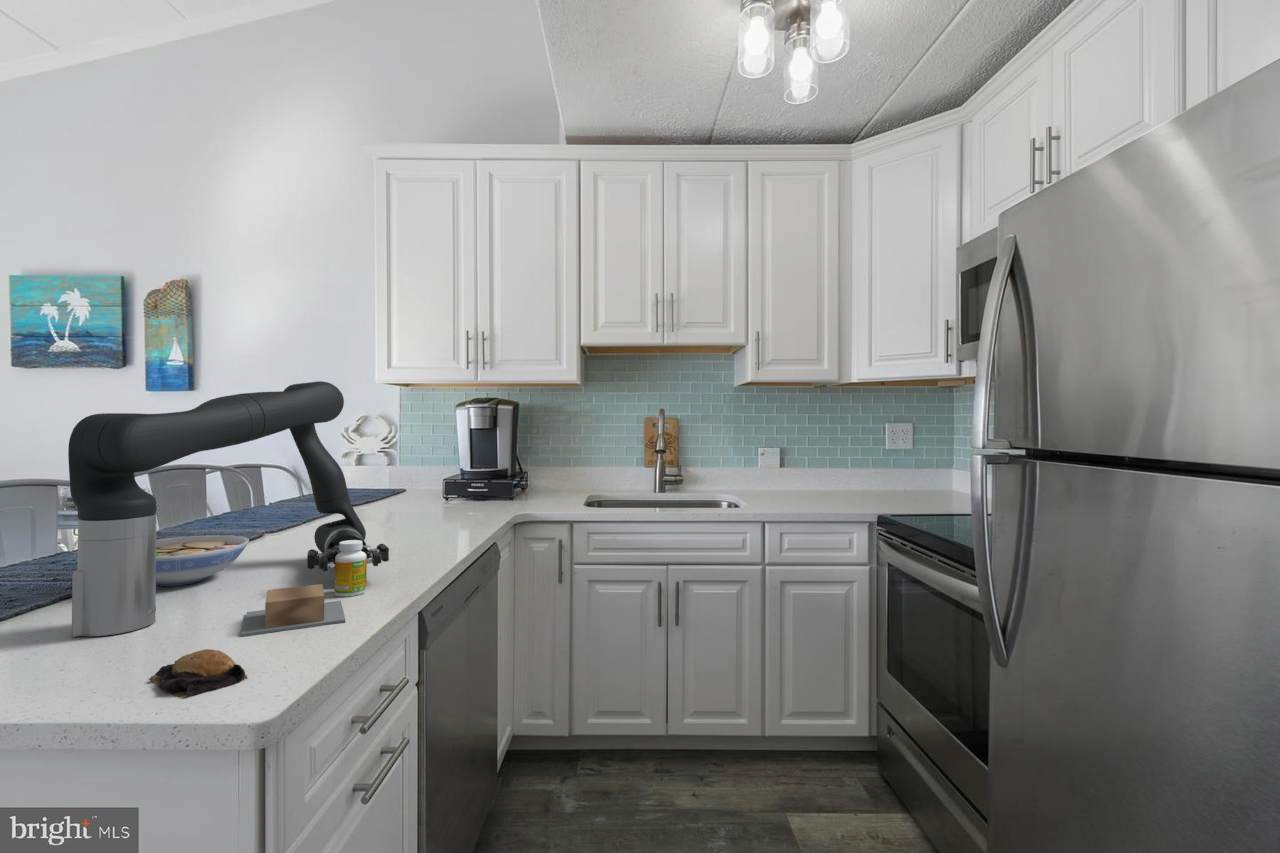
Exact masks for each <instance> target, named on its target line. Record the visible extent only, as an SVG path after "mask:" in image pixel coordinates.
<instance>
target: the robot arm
mask: <svg viewBox="0 0 1280 853" xmlns="http://www.w3.org/2000/svg"><path fill="white" fill-rule="evenodd" d="M341 391H342V390H340V389H339V388H338V387H337V386H336V385H334V384H332V383H330V382H328V381H322V380H321V381H313V382H312V381H310V382H302V383H301V382H299V383H294V384H290V385H288V386H287V387H285V388H284V389H283V391H282V390H281V391H261V392H259V391H258V392H246V393H245V392H244V393H236V394H231V395H224V396H219V397H216V398H212V399H208V400H207V401H205V402H203V403H201V404H199V405H198V406H196V407H194V408H191V409H189V410H183V411H176V412H175V411H174V412H165V413H134V412H133V413H127V412H124V413H121V412H120V413H118V412H117V413H116V412H114V413H110V412H108V413H95V414H91V415H87V416H86V417H84V418H82V419H81V420H80V421H79V422H77V423H76V424H75V426H74V427H73V429H72V431H71V434H70V437H69V441H68V452H67V453H68V454H67V456H68V473H69V475H68V476H69V477H68V478H69V490H70V491H69V492H70V496H71V499H72V502H73V504H74V506H75V507H76V510H77V569H76V570H75V571H73V572H72V575H71V576H72V577H71V578H72V579H71V580H72V581H71V582H72V583H71V586H72V588H71V590H72V591H71V637H72V638H76V637H103V636H110V635H113V636H114V635H118V634H124V633H129V632H134V631H137V630H140V629H143V628H146V627H148V626H150V625H152V624H154V623H155V622H156V615H157V614H156V610H157V606H156V600H157V599H156V594H157V593H156V592H157V589H156V587H157V584H156V540H157V499H156V498H155V495H153V494H151V493H149V492H147V491H145V490H144V489H143V488H142V487H141V486H139V484H138V483H137V481H136V478H135V473H143V472H146V471H147V472H148V471H150V470H153V469H157V468H159V467H162V466H164V465H167V464H170V463H172V462H174V461H177V460H181V459H183V458H185V457H188V456H191V455H194V454H196V453H200V452H205V451H212V450H217V449H222V448H227V447H234V446H236V445H240V444H244V443H249V442H251V441H256V440H259V439H261V438H265V437H268V436H270V435H274V434H277V433H281V432H283V431H286V430H288V429H289V431H290V433H291V436H292V438H293V441H294V443H295V446H296V447H297V450H298V452H299V455H300V457H301V459H302V461H303V463H304V466H305V469H306V471H307V472H306V473H307V474H308V478H309V481H310V482H309V483H310V487H311V490H312V495H313V499H314V503H315V508H316V510H317V511H318V513H319V514H324V515H329V514H330V515H331V514H334V515H335V514H336V515H337V514H338V515H342V516H343V517H344V518H342V519H339V520H334V521H331V522H330V521H328V522H326V523H323V524H320V526H318V527H317V528H316V529H315V532H314V534H313V535H314V536H313V537H314V539H313V540H314V543H315V546H316V548H317V550H316V549H309V550H308V552H307V556H306V558H307V559H306V560H307V566H306V567H307V569H310V570H312V569H315V567H317V568H318V569H319V570H322V571H323V572H327V571H328V568H335V557H336V555H337V554H339V553H340V552H341V551H340V550H339V543H340V542H342V541H347V540H361V541H362V542H363V547H362V549H361V551H362V552H364V553H365V554H366V557H367V565H368V564H372V566H373V567H379V564H382V562H389V561H390V558H389V556H390V555H389V554H390V553H389V552H390V548H389V547H388V545H386V544H385V543H379V544H377V545H376V548H373V546H372V545H367V543H366V542H365V539H366V535H367V534H366V531H367V530H366V529H365V526H364V524H363V522H362V521H361V519H360V518H359V516H358V514H357V513H356V510H355V509H354V506H353V504H352V502H351V499H350V496H349V492H348V487H347V486H348V485H347V482H346V478H345V474H344V472H343V469H342V468H341V466H340V465H339V463H338V462H337V461H336V460H335V458H334V457H333V456H332V455H331V453H330V452H329V451H328V450H327V448H325V446H324V444H323V443H322V441H321V440H320V437H319V436H318V433H317V430H316V426H315V424H322V423H328V422H331V421H333V420H334V419H336V418H337V417H339V416H340V415H341V413H342V411H343V408H344V404H345V399H344V396H343V393H342V392H341Z"/></svg>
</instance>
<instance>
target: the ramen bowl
mask: <svg viewBox="0 0 1280 853" xmlns="http://www.w3.org/2000/svg"><path fill="white" fill-rule="evenodd" d="M249 541H250V539H249V538H246V536H239V535H238V536H237V535H232V534H231V535H230V534H229V535H226V534H221V535H219V534H218V535H217V534H215V535H214V534H212V535H211V534H207V535H206V534H205V535H192V536H191V535H190V536H189V535H188V536H178V537H177V536H176V537H168V538H159V539H157V538H156V586H157V585H158V586H161V587H175V586H183V585H184V586H185V585H190V584H195V583H196V584H197V583H199V582H201V581H203V580H205V579H206V578H207V577H210V576H213V575H215V574H217V573H219V572H222V571H223V570H224V569H226V568H228V567H229V566H231V565H232V563H234V562H235V561H236V560H237V558H238V557H239V556H240V555H241V554H242V553H243V551H244V550H245V549H246V547H247V545H248V543H249Z"/></svg>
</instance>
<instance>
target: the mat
mask: <svg viewBox="0 0 1280 853" xmlns="http://www.w3.org/2000/svg"><path fill="white" fill-rule="evenodd" d="M340 623H346V616H345V613H344V608H343V603H342V600H333V601H324V621H318V622H311V623H304V624H296V625H289V626H282V627H274V628H267V629H265V609H261V610H253V611H247V612H246V615H245V617H244V622H243V626H242V630H241V633H240V637H248V636H249V637H250V636H256V635H262V634H269V633H277V632H284V631H291V630H299V629H305V628H306V629H307V628H313V627H320V626H328V625H333V624H340Z"/></svg>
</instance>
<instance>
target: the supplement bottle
mask: <svg viewBox="0 0 1280 853" xmlns="http://www.w3.org/2000/svg"><path fill="white" fill-rule="evenodd" d="M362 547H363V542H362V541H361V540H347V541H342V542H340V543H339V550H340V551H341V552H340V553H339V554H337V555H336V557H335V567H334V595H335V596H337V597H345V598H346V597H348V598H349V597H355V596H360V595H362V594H364V593H366V592H367V565H368V564H367V557H366V554H365V553H364V552H362V551H361V549H362Z"/></svg>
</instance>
